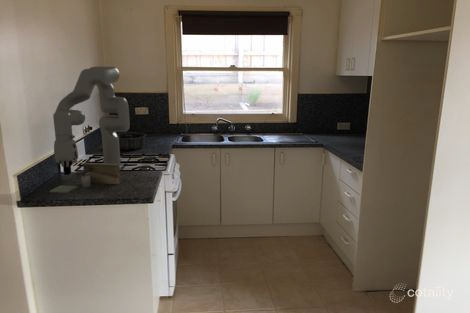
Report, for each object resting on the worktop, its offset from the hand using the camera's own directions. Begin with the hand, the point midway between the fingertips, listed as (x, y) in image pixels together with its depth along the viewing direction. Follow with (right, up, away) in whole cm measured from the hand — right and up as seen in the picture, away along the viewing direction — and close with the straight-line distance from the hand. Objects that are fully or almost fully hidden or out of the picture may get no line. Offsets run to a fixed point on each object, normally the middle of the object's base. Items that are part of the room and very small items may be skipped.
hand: (67, 174), depth 179 cm
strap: (+7, +1, +3) cm, 8 cm away
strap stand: (+13, -5, +11) cm, 18 cm away
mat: (-1, -8, -1) cm, 8 cm away
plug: (+7, -6, +5) cm, 11 cm away
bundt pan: (+1, +15, +101) cm, 102 cm away
